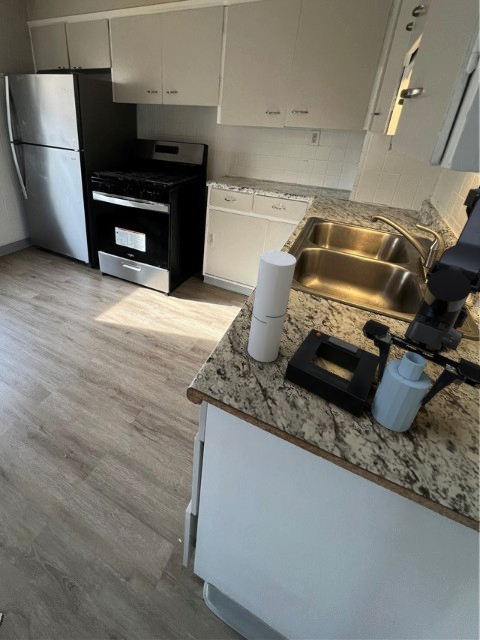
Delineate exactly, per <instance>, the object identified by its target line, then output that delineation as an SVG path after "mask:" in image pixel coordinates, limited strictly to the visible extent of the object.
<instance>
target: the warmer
mask: <svg viewBox="0 0 480 640" xmlns="http://www.w3.org/2000/svg"><path fill="white" fill-rule="evenodd" d="M318 358H321V359H323V360H325V361H328V362H329V363H332V364H334V365H336V366H338V367H340V368H343V369H345V370H347V371H349V372H351V373H352V377H351V379H350V380H349V379H347V378H345V377H343V376H341V375H339V374H337V373H334V372H332V371H330V370H328V369H326V368H324V367H322V366H320V365H318V364H316V363H315V362H316V361H317V359H318ZM378 367H379V355H377V354H375V353H373V352H370V351H368V350H365V349H363V348H361V347H359V345H356V344H353V343H351V342H348V341H346V340H345V339H341V338H340V337H336V336H335V335H331V334H330V335H329V334H327V333H325V332H322V331H320V330H317V329H316V328H313V327H312V328H311V330H310V331H309V333H308V334H307V336H306V337H305V338H304V339H303V341H302V342H301V344H300V345H299V347H298V348H297V349H296V351H295V352H294V353H293V355H292V356H291V358H290V359H289V361H288V362H287V365H286V370H285V374H284V379H285V380H287V381H289V382H291V384H294V385H296V386H298V387H300V388H301V389H304V390H305V391H307V392H309V393H311V394H313V395H315V396H317V397H318V398H321V399H322V400H324V401H326V402H328V403H329V404H332V405H333V406H335V407H337V408H339V409H341V410H342V411H344V412H346V413H349V414H350V415H352V416H354V417H357V418H358V419H359V418H360V417H361V415H362V411H363V409H364V406H365V404H366V402H367V399H368V395H369V394H370V393H369V392H370V390H371V386H372V383H373V381H374V378H375V375H376V373H377V371H378Z"/></svg>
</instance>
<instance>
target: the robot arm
mask: <svg viewBox="0 0 480 640" xmlns="http://www.w3.org/2000/svg"><path fill="white" fill-rule="evenodd" d="M463 206H465V207H466V208H465V214H466V218H467V220H466V221H465V223H464V225H463V228H462V230H461V232H460V234H459V236H458V238H457V240H456V242H455V244H454V245H452V246H450V247H448V248H446V249H444V251H443V252H442V254H441V256H440V258H439V260H438V259H434V261H433V263H432V264H431V266H430V267H429V269H428V270H427V272H426V274H425V278H424V280H426V286H425V290H424V294H423V297H422V298H421V301H420V303H419V306H418V309H417V310H416V313H415V315H414V317H413V319H412V321H411V322H410V323H409V324H408V326H407V328H406V330H405V332H404V334H403V337H402V336H399V335H396V334H394V333H392V332H391V326H388V325H385V324H384V323H382V322H379V321H378V320H377V321H376V320H374V319H368V320H367V321H365V323H364V325H363V327H362V328H361V329H362V334H363V337H365V338H366V339H369V340H370V341H373V345H374V347H376V348H378V356H379V364H378V367H377V377H376V378H377V379H376V382H377V383H379V384H380V382H381V380H382V377H383V374H384V372H385V369H386V367H387V364H388V362H389V359H390V356H391V352H392V346H395V347H397V348H399V349H402V350H403V351H406V352H413V353H416V354H418V355H420V356H422V357H423V358H424V359H425V360H426V361H428V362H430V363H433V364H435V365H437V366H439V367H441V368H444V369H443V370H442V372H441V373H440V374H439V376H438V377H437V379H436V380H435V381H434V383H433V384H432V386H430V388H429V389H428V392H427V394H426V396H425V398H424V400H423V402H422V404H421V406H420V407H425V406H426V405H427V404H428V403H429V402H430V401H432V399H433V398H435V397H436V395H438V394H439V393H440V392H441V391H442V390H444V389H446V388H447V387H448V386H450V385H452V384H454V385H456V386H461V385H463V384H465V385H468V386H469V387H471V388H474V389H477V390H480V364H478V363H475V362H473V361H470V360H468V359H466V358H464V357H460V358H459V360H458V361H457V360H453V359H451V358H449V357H447V356H445V355H442V353H443V351H444V349H445V348H447V349H450V350H453V351H457V349H458V347H459V345H460V343H461V340H462V339H463V337H464V335H465V333H464V332H463V331H460V330H458V329H461V328H462V327H463V326H464V323H465V321H466V320H467V318H468V316H469V314H468V312H467V309H468V307H466V306H465V305H466V301H467V299H468V298H469V296H470V294H472V295H476V294H477V293H480V184H479V185H478V187H477V188H470V189H469V190H468V193H467V195H466V197H465V199H464V202H463Z"/></svg>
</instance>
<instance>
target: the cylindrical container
mask: <svg viewBox="0 0 480 640" xmlns="http://www.w3.org/2000/svg"><path fill="white" fill-rule="evenodd" d="M296 264H297V258H296V257H295V256H294V255H293V254H291V253H288V252H285V251H281V250H265V251H263V252H262V253H260V259H259V264H258V265H259V267H258V273H257V279H256V287H255V294H254V299H253V300H254V301H253V307H252V315H251V322H250V329H249V336H248V345H247V352H248V353H247V354H248V355H249V356H250V357H251V358H252V359H254V360H255V361H258V362H260V363H272V362H274V361H276V360H277V359H278V356H279V352H280V348H281V347H280V346H281V341H282V336H283V331H284V325H285V322H286V317H287V310H288V305H289V301H290V296H291V295H290V294H291V290H292V285H293V280H294V276H295V275H294V274H295V270H296Z"/></svg>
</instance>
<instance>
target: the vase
mask: <svg viewBox="0 0 480 640" xmlns="http://www.w3.org/2000/svg"><path fill="white" fill-rule="evenodd" d="M426 365H427V360H426V359H424V358H423V357H422V356H420V355H418V354H416V353H413V352H408V351H406V352H405V353H404V354H403V356H402V358H401V359H392V360H390V361H388V362H387V365H386V368H385V371H384V374H383V377H382V379H381V381H380V383H379V385H378V387H377V390H376V392H375V395H374V397H373V400H372V403H371V404H370V413H371V414H372V417H373V418H374V419H375V420H376V421H377V422H378V423H379V424H380V425H381V426H383V427H384V428H385V429H388V430H390V431H393V432H396V433H402V432H407V431H408V430H409V429H410V428H411V426H412V424H413V422H414V420H415V418H416V417H417V414H418V412H419V409H420V408H421V407H422V406H421V404H422V402H423V400H424V398H425V396H426V395H427V393H428V392H429V390H430V388H431V384H432V379H431V378H430V375H429V374H428V373H427V372H426V371H425V370H424V369H425V367H426Z"/></svg>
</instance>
